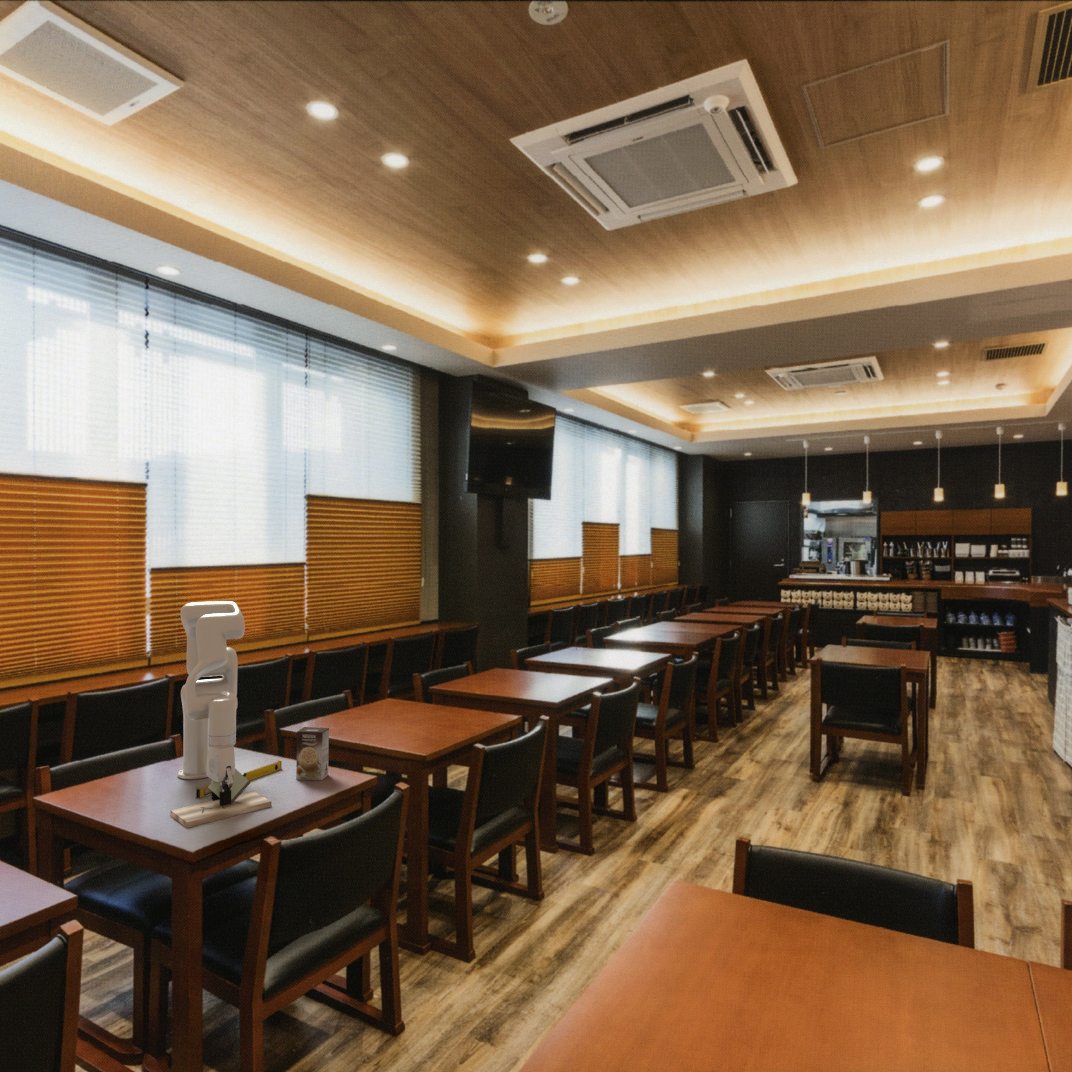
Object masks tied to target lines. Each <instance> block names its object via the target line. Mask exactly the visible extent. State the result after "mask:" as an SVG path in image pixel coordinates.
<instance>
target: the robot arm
mask: <svg viewBox="0 0 1072 1072" xmlns="http://www.w3.org/2000/svg"><path fill="white" fill-rule="evenodd" d="M180 620H181V625H182V627H183V629H184V632H185V636H186V671H187V674H188V676H187V678H186V682H185V684H183V685H182V687H181V690H180V698H181V699H180V700H181V705H182V714H183V715H182V716H183V721H182V723H183V732H182V733H183V735H182V736H183V737H182V738H183V741H182V743H183V744H182V745H183V748H182V749H183V752H182V756H183V757H182V769H180V770H179V771H178V772H177V777H178V778H180V779H183V780H198V779H205V778H209V779H210V780H211V783H212V782H213V781H216V782H217V783H220V787H221V792H219V797H218V796H217V795H216V794H215V793H214V792H212V794H211V801H215V800H219V805H220V806H223V805H228V804H231V790H232V785H233V783H234V780H233V779H234V777H235V769H236V756H235V754H236V753H235V745H236V742H237V741H236V740H237V737H236V736H237V709H238V705H239V704H238V703H239V702H238V697H237V695H238V668H239V667H238V655H237V654H238V653H237V652H236V650H235V649H234V648H233V647H230V646H228V645H227V640H237V639H238V640H239V639H242V638H243V637H244V634H245V633H246V632H245V631H246V623H245V618H244V615H243V613H242V611H241V609H240V607H239V605H238V604H237V603H236V602H235V601H231V600H230V601H227V600H225V601H197V602H189V603H186V604H184V605H183V606H182V607H181V608H180ZM217 676H218V678H209V679H200V678H206V677H217ZM219 676H221V678H219ZM224 778H227V780H224ZM225 782H227V784H225V785H224V783H225ZM211 783H210V784H211Z"/></svg>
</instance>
